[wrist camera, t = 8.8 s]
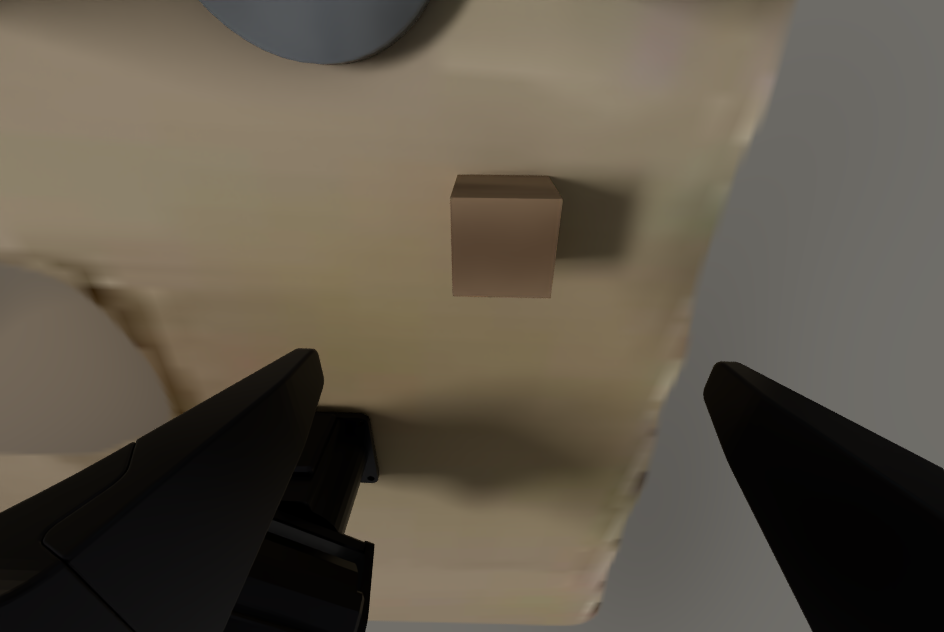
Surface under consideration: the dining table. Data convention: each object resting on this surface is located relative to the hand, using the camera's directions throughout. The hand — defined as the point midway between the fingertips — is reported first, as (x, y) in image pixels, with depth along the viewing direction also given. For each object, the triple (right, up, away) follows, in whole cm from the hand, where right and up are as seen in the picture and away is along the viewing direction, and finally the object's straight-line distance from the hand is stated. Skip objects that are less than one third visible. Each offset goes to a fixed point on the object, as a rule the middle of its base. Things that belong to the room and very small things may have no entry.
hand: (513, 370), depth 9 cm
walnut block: (0, +6, +9) cm, 11 cm away
